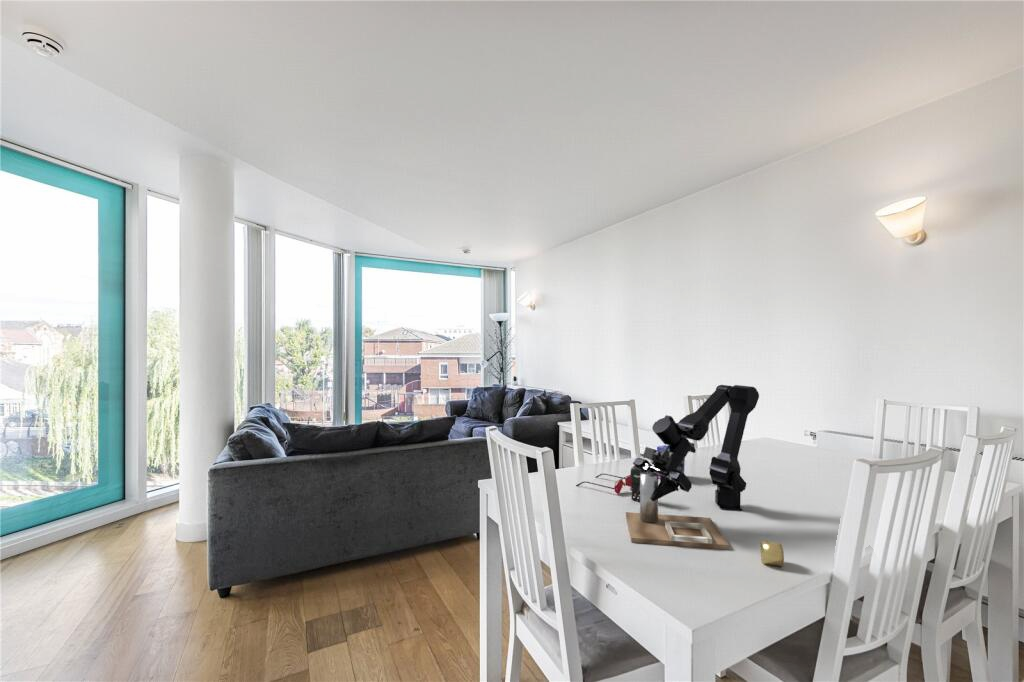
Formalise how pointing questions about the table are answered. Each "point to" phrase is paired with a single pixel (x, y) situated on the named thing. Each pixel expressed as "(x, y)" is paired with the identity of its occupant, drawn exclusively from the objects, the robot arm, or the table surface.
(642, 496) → the grey cylinder
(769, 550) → the shiny gold nugget
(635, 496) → the battery charger
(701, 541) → the board
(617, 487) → the glasses
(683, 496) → the table surface
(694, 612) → the table surface
